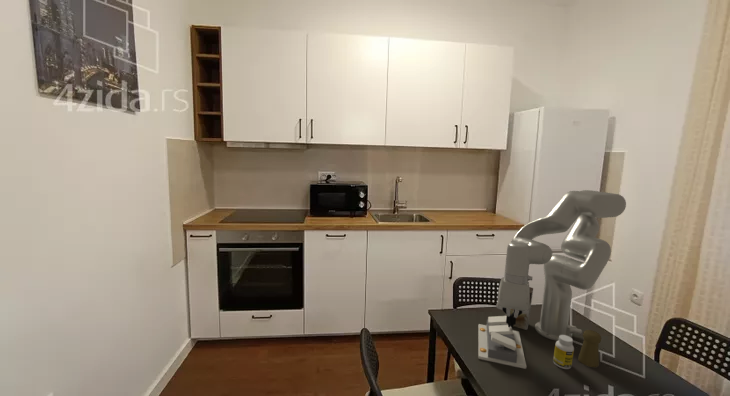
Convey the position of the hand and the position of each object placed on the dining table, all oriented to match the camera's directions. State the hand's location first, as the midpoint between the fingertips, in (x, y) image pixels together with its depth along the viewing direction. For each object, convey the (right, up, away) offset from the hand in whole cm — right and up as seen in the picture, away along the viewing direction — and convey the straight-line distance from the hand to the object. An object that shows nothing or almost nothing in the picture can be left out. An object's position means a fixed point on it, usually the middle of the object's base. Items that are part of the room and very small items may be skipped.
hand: (510, 325), depth 120 cm
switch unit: (-3, -8, +2) cm, 9 cm away
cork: (+25, -11, -5) cm, 27 cm away
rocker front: (-5, -4, -5) cm, 8 cm away
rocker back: (0, -2, +8) cm, 8 cm away
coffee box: (+10, -6, +18) cm, 22 cm away
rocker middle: (-3, -3, +2) cm, 4 cm away
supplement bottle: (+14, -11, -7) cm, 19 cm away
